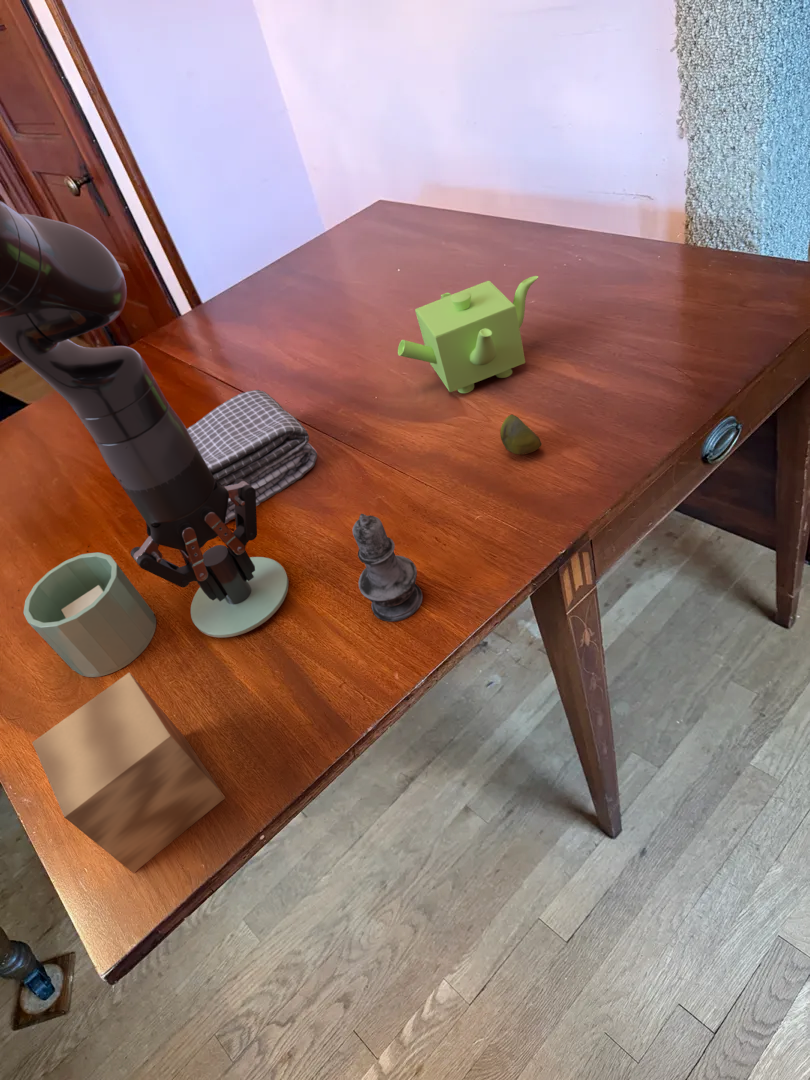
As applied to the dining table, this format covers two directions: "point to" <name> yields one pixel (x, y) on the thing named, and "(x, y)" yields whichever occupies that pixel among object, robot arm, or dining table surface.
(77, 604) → the block
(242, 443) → the towel
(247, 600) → the lid
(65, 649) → the pot
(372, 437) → the dining table surface
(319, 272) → the dining table surface
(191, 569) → the robot arm
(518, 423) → the olive green rock
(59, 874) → the dining table surface
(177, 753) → the stand
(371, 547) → the chess piece
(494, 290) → the kettle
